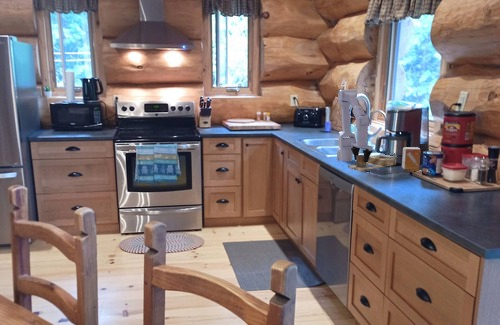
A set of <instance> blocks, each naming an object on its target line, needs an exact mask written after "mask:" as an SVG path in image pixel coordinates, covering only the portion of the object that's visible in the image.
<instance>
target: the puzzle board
mask: <svg viewBox="0 0 500 325" xmlns="http://www.w3.org/2000/svg"><path fill="white" fill-rule="evenodd" d="M379 155H380V154H377V155H370V157H369V160H368V162H367V163H366V167H363V168H360V167H356V164H352V165H351V164H350V165H348V167H347V169H349V168H350V170H353V169H354V170H353V171H356V172H360V171H361V172H362V173H364V172H365V173H370V172H371V171H369V170H372V169H377V168H378V169H379V168H380V169H381V168H384V167H389V166H390V167H391V166H396V165H397V157H395V158H385V157H381V156H379ZM367 165H372V166H367ZM361 172H360V173H361Z"/></svg>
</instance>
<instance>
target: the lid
mask: <svg viewBox="0 0 500 325" xmlns="http://www.w3.org/2000/svg"><path fill="white" fill-rule="evenodd" d="M395 153H396V152H395ZM395 153H394V154H393V156H390V155H385V154H386V153H385V154H378V155H379V156H381V157H385V158H398V157H397V156H398V155H396V154H395Z"/></svg>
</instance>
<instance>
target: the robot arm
mask: <svg viewBox="0 0 500 325" xmlns="http://www.w3.org/2000/svg"><path fill="white" fill-rule="evenodd" d="M357 97H358V91H357V90H356V89H355V88H352V89H339V91H338V93H337V100H338V101H337V102H338V104H339V106H340V110H341V111H340V113H341V126H342V132H341V133H340V134H339V135H338V136H337V138H338V139H337V145H338V146H337V147H338V149H337V150H336V162H340V161H341V162H347V163H348V162H353V160H354V161H356V156H357V155H360V150H361V149H362V154H363V155H364V162H365V163H366V162H367V163H368V160H369V157H370V156H372V155H371V154H372V153H373V151H374V150H373V146H370V145H369V144H368V130H369V129H368V128H369V126H370V124H371V117H370V116H369V115H368V114H366V112H365V110H364V109H363V107H362V106H360V105H359V102H358V99H357ZM350 106H351V108H352V114H353V116H354V117H355V118H354V119H355V125H356V126H355V129H356V135H355V133H353V131H352V126H351V124H352V123H351V114H350V110H351V108H350Z"/></svg>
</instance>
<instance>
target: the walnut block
mask: <svg viewBox="0 0 500 325" xmlns="http://www.w3.org/2000/svg"><path fill="white" fill-rule="evenodd" d="M355 161H356V162H355V165H356V167H360V168H363V167H366V166H367V165H366V163H368V162H366V163H365V162H364V154H359V155H357V156H356V160H355Z"/></svg>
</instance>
